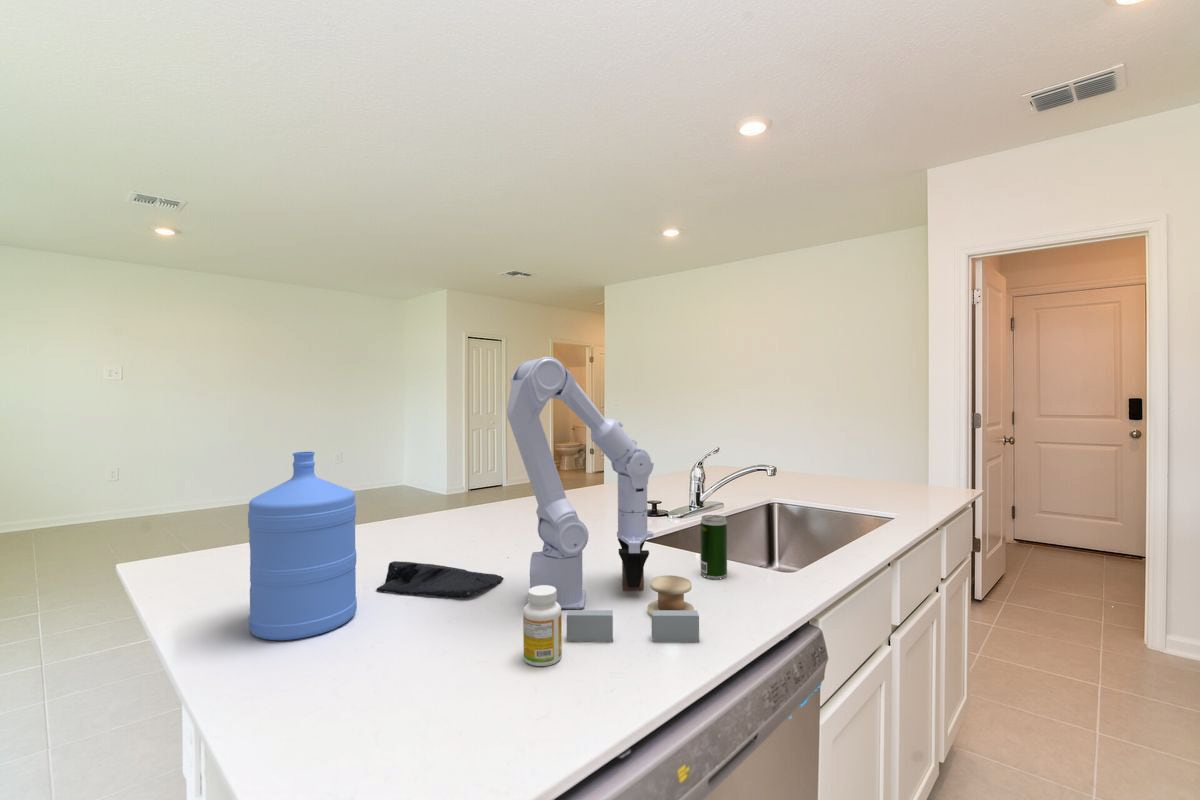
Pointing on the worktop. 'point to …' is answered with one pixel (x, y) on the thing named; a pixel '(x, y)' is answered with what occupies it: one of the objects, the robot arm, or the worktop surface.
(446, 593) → the dark slate chunk
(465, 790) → the worktop surface
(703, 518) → the beer can
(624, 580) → the block
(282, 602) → the water jug
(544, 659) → the supplement bottle
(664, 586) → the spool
